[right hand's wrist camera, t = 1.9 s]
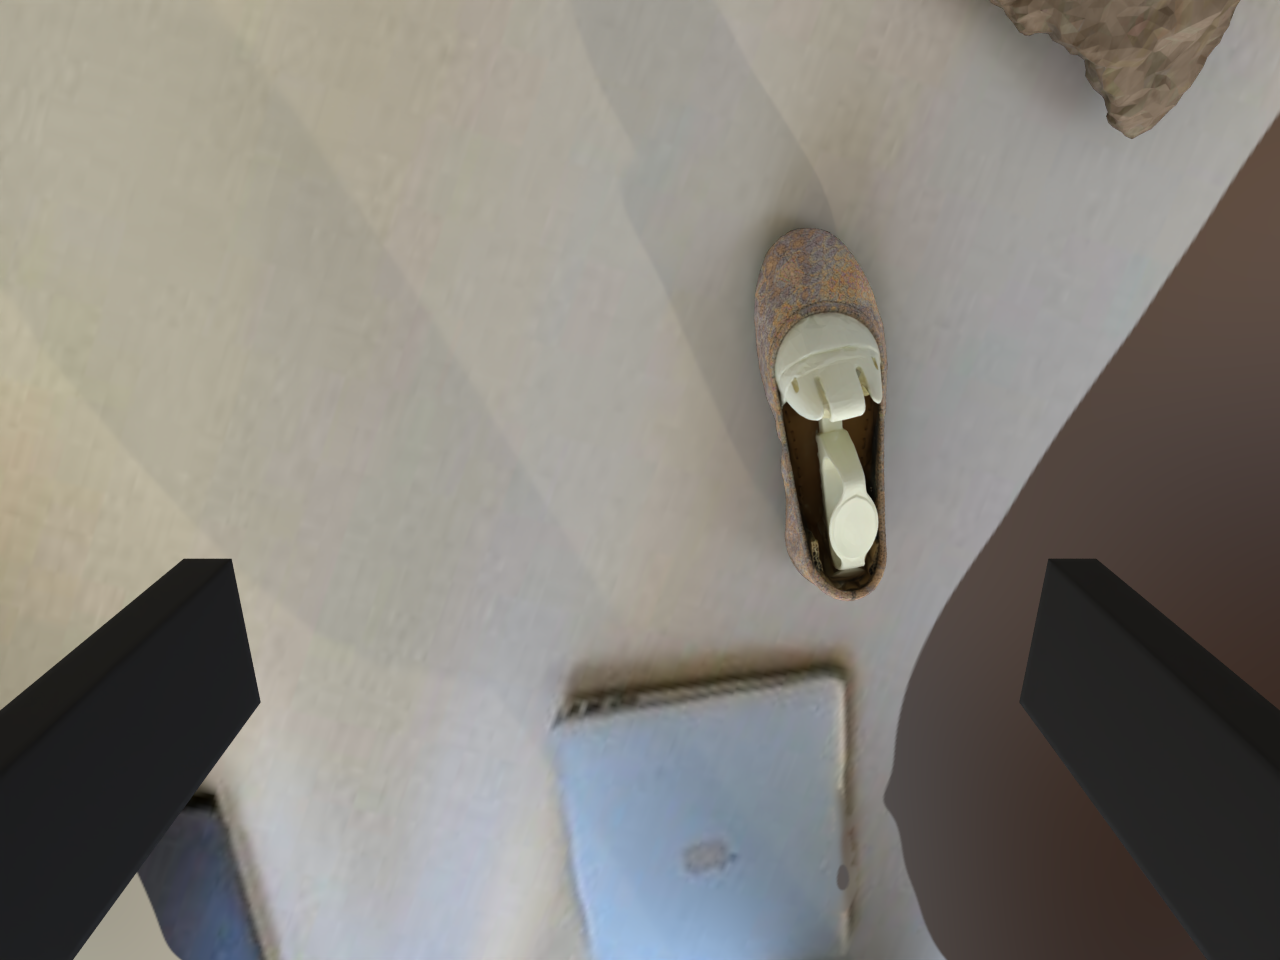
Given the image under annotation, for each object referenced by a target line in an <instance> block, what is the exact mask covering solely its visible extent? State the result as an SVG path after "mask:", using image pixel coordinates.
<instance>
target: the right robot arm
mask: <svg viewBox="0 0 1280 960" xmlns="http://www.w3.org/2000/svg"><path fill="white" fill-rule="evenodd" d="M259 704H260V697H259V692H258V687H257V682H256V677H255V672H254V667H253V662H252V657H251V653H250V648H249V643H248V638H247V633H246V628H245V623H244V618H243V613H242V608H241V603H240V598H239V593H238V588H237V583H236V578H235V573H234V569H233V564H232V559H183V560H182V561H181V562H179V563H178V564H177V565H176V566H175V567H173V568H172V569H171V570H170V571H168V572H167V573H166V574H165V575H164V576H162V577H161V578H160V579H159V580H158V581H156V582H155V583H154V584H153V585H152V586H150V587H149V588H148V589H147V590H145V591H144V592H143V593H142V594H141V595H139V596H138V597H137V598H136V599H135V600H133V601H132V602H131V603H130V604H129V605H127V606H126V607H125V608H124V609H122V610H121V611H120V612H119V613H118V614H116V615H115V616H114V617H113V618H112V619H110V620H109V621H108V622H107V623H106V624H104V625H103V626H102V627H101V628H100V629H98V630H97V631H96V632H95V633H93V634H92V635H91V636H90V637H89V638H87V639H86V640H85V641H84V642H83V643H81V644H80V645H79V646H78V647H77V648H75V649H74V650H73V651H72V652H70V653H69V654H68V655H67V656H66V657H64V658H63V659H62V660H61V661H60V662H58V663H57V664H56V665H55V666H54V667H52V668H51V669H50V670H49V671H47V672H46V673H45V674H44V675H43V676H41V677H40V678H39V679H38V680H37V681H35V682H34V683H33V684H32V685H31V686H29V687H28V688H27V689H26V690H24V691H23V692H22V693H21V694H20V695H18V696H17V697H16V698H15V699H14V700H12V701H11V702H10V703H9V704H8V705H6V706H5V707H4V708H3V709H1V710H0V960H73V959H74V958H75V956H76V955H77V953H78V952H79V951H80V949H81V948H82V947H83V945H84V944H85V943H86V941H87V940H88V938H89V937H90V936H91V934H92V933H93V932H94V930H95V929H96V927H97V926H98V925H99V923H100V922H101V921H102V919H103V918H104V916H105V915H106V914H107V912H108V911H109V910H110V908H111V907H112V905H113V904H114V903H115V901H116V900H117V898H118V897H119V896H120V894H121V893H122V892H123V890H124V889H125V888H126V886H127V885H128V884H129V882H130V881H131V879H132V878H133V877H134V875H135V874H136V873H137V871H138V870H139V868H140V867H141V866H142V864H143V863H144V862H145V860H146V859H147V857H148V856H149V855H150V853H151V852H152V851H153V849H154V848H155V846H156V845H157V844H158V842H159V841H160V840H161V838H162V837H163V836H164V834H165V833H166V831H167V830H168V829H169V827H170V826H171V825H172V823H173V822H174V820H175V819H176V818H177V816H178V815H179V814H180V812H181V811H182V809H183V808H184V807H185V805H186V804H187V803H188V801H189V800H190V798H191V797H192V796H193V794H194V793H195V792H196V790H197V789H198V787H199V786H200V785H201V783H202V782H203V781H204V779H205V778H206V777H207V775H208V774H209V772H210V771H211V770H212V768H213V767H214V766H215V764H216V763H217V761H218V760H219V759H220V757H221V756H222V755H223V753H224V752H225V750H226V749H227V748H228V746H229V745H230V744H231V742H232V741H233V739H234V738H235V737H236V735H237V734H238V733H239V731H240V730H241V729H242V727H243V726H244V724H245V723H246V722H247V720H248V719H249V718H250V716H251V715H252V713H253V712H254V711H255V709H256V708H257V707H258V705H259ZM1020 704H1021V705H1022V706H1023V708H1024V709H1025V711H1026V712H1027V713H1028V715H1029V716H1030V717H1031V719H1032V720H1033V722H1034V723H1035V724H1036V726H1037V727H1038V728H1039V730H1040V731H1041V733H1042V734H1043V735H1044V737H1045V738H1046V739H1047V741H1048V742H1049V744H1050V745H1051V746H1052V748H1053V749H1054V750H1055V752H1056V753H1057V755H1058V756H1059V757H1060V759H1061V760H1062V761H1063V763H1064V764H1065V766H1066V767H1067V768H1068V770H1069V771H1070V772H1071V774H1072V775H1073V777H1074V778H1075V779H1076V781H1077V782H1078V783H1079V785H1080V786H1081V787H1082V789H1083V790H1084V792H1085V793H1086V794H1087V796H1088V797H1089V798H1090V800H1091V801H1092V803H1093V804H1094V805H1095V807H1096V808H1097V809H1098V811H1099V812H1100V814H1101V815H1102V816H1103V818H1104V819H1105V820H1106V822H1107V823H1108V825H1109V826H1110V827H1111V829H1112V830H1113V831H1114V833H1115V834H1116V835H1117V837H1118V838H1119V840H1120V841H1121V842H1122V844H1123V845H1124V846H1125V848H1126V849H1127V851H1128V852H1129V853H1130V855H1131V856H1132V857H1133V859H1134V860H1135V862H1136V863H1137V864H1138V866H1139V867H1140V868H1141V870H1142V871H1143V873H1144V874H1145V875H1146V877H1147V878H1148V879H1149V881H1150V882H1151V883H1152V885H1153V886H1154V888H1155V889H1156V890H1157V892H1158V893H1159V895H1160V896H1161V897H1162V899H1163V900H1164V901H1165V903H1166V904H1167V905H1168V907H1169V908H1170V910H1171V911H1172V912H1173V914H1174V915H1175V916H1176V918H1177V919H1178V921H1179V922H1180V923H1181V925H1182V926H1183V927H1184V929H1185V930H1186V931H1187V933H1188V934H1189V936H1190V937H1191V938H1192V940H1193V941H1194V942H1195V944H1196V945H1197V947H1198V948H1199V949H1200V951H1201V952H1202V953H1203V955H1204V956H1205V958H1206V959H1207V960H1280V710H1279V709H1277V708H1276V707H1275V706H1274V705H1272V704H1271V703H1270V702H1269V701H1268V700H1266V699H1265V698H1264V697H1263V696H1262V695H1260V694H1259V693H1258V692H1257V691H1256V690H1254V689H1253V688H1252V687H1251V686H1249V685H1248V684H1247V683H1246V682H1245V681H1243V680H1242V679H1241V678H1240V677H1239V676H1237V675H1236V674H1235V673H1234V672H1233V671H1231V670H1230V669H1229V668H1228V667H1226V666H1225V665H1224V664H1223V663H1222V662H1220V661H1219V660H1218V659H1217V658H1216V657H1214V656H1213V655H1212V654H1211V653H1210V652H1208V651H1207V650H1206V649H1205V648H1203V647H1202V646H1201V645H1200V644H1199V643H1197V642H1196V641H1195V640H1194V639H1192V638H1191V637H1190V636H1189V635H1188V634H1187V633H1185V632H1184V631H1183V630H1182V629H1180V628H1179V627H1178V626H1177V625H1176V624H1174V623H1173V622H1172V621H1171V620H1170V619H1168V618H1167V617H1166V616H1165V615H1164V614H1162V613H1161V612H1160V611H1159V610H1157V609H1156V608H1155V607H1154V606H1153V605H1151V604H1150V603H1149V602H1148V601H1147V600H1145V599H1144V598H1143V597H1142V596H1141V595H1139V594H1138V593H1137V592H1136V591H1135V590H1133V589H1132V588H1131V587H1130V586H1128V585H1127V584H1126V583H1125V582H1124V581H1122V580H1121V579H1120V578H1119V577H1118V576H1116V575H1115V574H1114V573H1113V572H1112V571H1110V570H1109V569H1108V568H1107V567H1105V566H1104V565H1103V564H1102V563H1101V562H1099V561H1098V560H1097V559H1048V564H1047V569H1046V574H1045V579H1044V583H1043V588H1042V593H1041V598H1040V603H1039V608H1038V613H1037V618H1036V623H1035V628H1034V633H1033V638H1032V643H1031V648H1030V653H1029V658H1028V662H1027V667H1026V672H1025V677H1024V682H1023V687H1022V692H1021V697H1020Z"/></svg>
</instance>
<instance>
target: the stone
mask: <svg viewBox="0 0 1280 960" xmlns="http://www.w3.org/2000/svg"><path fill="white" fill-rule="evenodd" d="M989 1H990V2H991V3H992V4H994V5H996V6H999V7H1001V8H1002V9H1004V11H1005V13H1006V15H1007V16H1008V17H1009V19H1010V20H1011V21H1012V22H1013V23H1014V25H1015V26H1016V28H1017V29H1018V31H1019V32H1020V33H1023V34H1024V35H1027V36H1030V35H1032V34H1034V33H1048V34H1049V35H1050V37H1051V38H1052V40H1053V41H1055V42H1057V43H1059V44H1061V45H1063V46H1064V47H1065V48H1066V49H1067V50H1068V51H1069V53H1070V54H1073V55H1078V56H1080V57H1081V58H1083V59H1084V60H1085V67H1086V75H1085V76H1086V78H1087V79H1088V81H1089V82H1090V84H1091V86H1092V87H1093V89H1095V90H1096V91H1097V92H1098V93H1099V94H1101V95H1102V97H1103V98H1104V100H1105V105H1106V108H1107V111H1108V113H1107V116H1106V117H1107V120H1108V123H1109V124H1110V125H1111V126H1112V127H1114V128H1115V129H1117V130H1119V131H1121V132H1122V133H1123V134H1124V135H1125V136H1126V137H1128V138H1131V139H1133V138H1135V137H1136V136H1138V135H1140V134H1142V133H1144V132H1146V131H1148V130H1150V129H1152V128H1153V127H1154V126H1155V125H1156V124H1157V123H1158V122H1159V121H1160V120H1161V119H1162V118H1163V117H1164V116H1165V114H1166V113H1167V112H1168V111H1169V110H1171V109H1172V108H1173V107H1174V106H1175V105H1176V104H1177V103H1178V101H1179V100H1180V98H1181V97H1182V95H1183V94H1184V93H1185V92H1186V91H1187V90H1188V89H1189V88H1190V87H1191V85H1192V83H1193V82H1194V80H1195V79H1196V77H1197V76H1198V74H1199V73H1200V71H1201V69H1202V68H1203V66H1204V64H1205V61H1206V59H1207V57H1208V56H1209V54H1210V53H1211V52H1212V50H1213V49H1214V48H1215V47H1216V46H1217V45H1218V44H1219V43H1220V41H1221V39H1222V36H1223V34H1224V32H1225V31H1226V29H1227V28H1228V27H1229V24H1230V21H1231V18H1232V15H1233V13H1234V10H1235V7H1236V6H1237V4H1238V3H1239V1H1240V0H989Z"/></svg>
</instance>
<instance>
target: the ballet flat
mask: <svg viewBox="0 0 1280 960" xmlns="http://www.w3.org/2000/svg"><path fill="white" fill-rule="evenodd" d="M754 322H755V330H756V345H757V354H758V359H759V368H760V373H761V377H762V381H763V385H764V390H765V393H766V397H767V400H768V402H769V405H770V407H771V410H772V412H773V415H774V417H775V420H776V429H777V434H778V438H779V439H780V441H781V443H782V446H783V450H782V459H781V472H782V477H783V480H784V486H785V492H786V529H785V541H786V546H787V551H788V554H789V556H790V558H791V560H792V562H793V564H794V566H795V567H796V569H797V570H798V571H799V572H800V574H801V575H803V576H804V577H805V578H806V579H807V580H808V581H810V582H811V583H813V584H815V585H816V586H817V587H818V588H819V589H820V590H821V591H823V592H824V593H825V594H827V595H829V596H831V597H833V598H835V599H839V600H843V601H853V600H857V599H860V598H862V597H864V596H866V595H868V594H870V593H871V592H872V591H873V590H874V589H875V588H876V587H877V585H878V584H879V582H880V580H881V578H882V576H883V573H884V570H885V567H886V557H887V556H886V555H887V552H886V534H885V496H884V495H885V494H884V416H885V412H886V382H887V365H888V364H887V355H886V345H885V338H884V328H883V323H882V320H881V317H880V314H879V312H878V308H877V305H876V302H875V298H874V295H873V292H872V289H871V287H870V285H869V282H868V280H867V278H866V276H865V275H864V273H863V271H862V269H861V268H860V266H859V264H858V262H857V261H856V260H855V258H854V256H853V255H852V254H851V252H850V251H849V250H848V249H847V247H846V246H845V245H844V244H843V243H842V242H841V241H840V240H839V239H838V238H837V237H835V236H834V235H832V234H831V233H830V232H827V231H824V230H821V229H815V228H800V229H796V230H792V231H790V232H788V233H787V234H785V235H784V236H782V237H780V238H779V239H778V240H777V241H776V242H775V243H774V244H773V245H772V247H771V248H770V249H769V251H768V252H767V254H766V256H765V259H764V262H763V265H762V267H761V270H760V274H759V278H758V283H757V287H756V294H755V311H754ZM871 490H872V491H871Z"/></svg>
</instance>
